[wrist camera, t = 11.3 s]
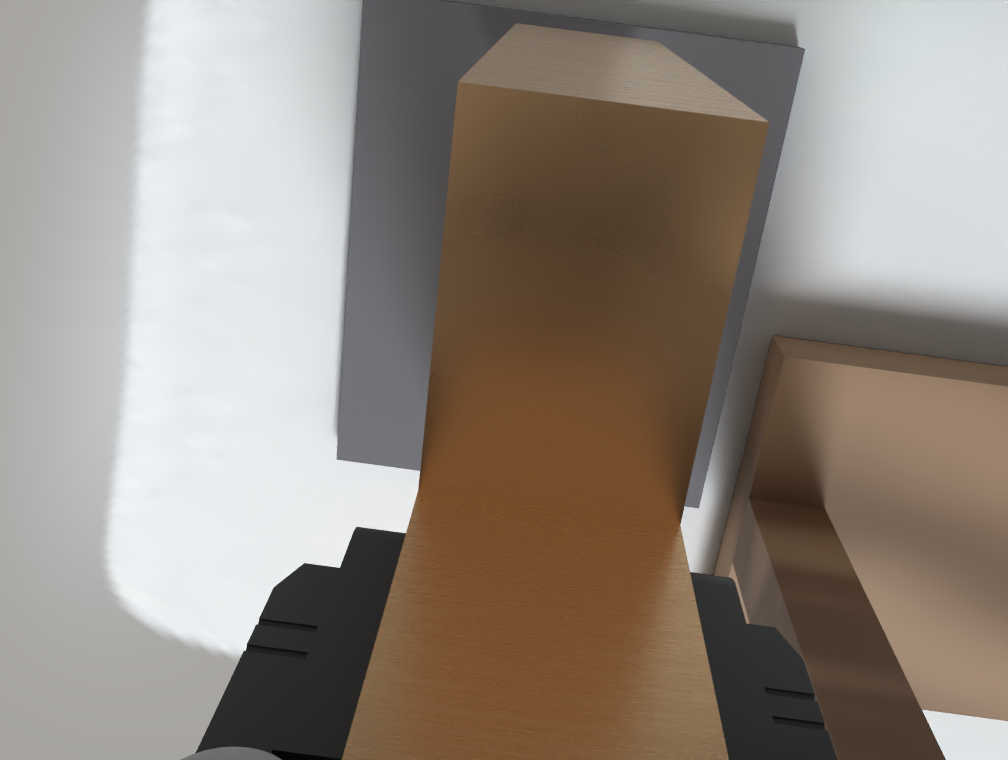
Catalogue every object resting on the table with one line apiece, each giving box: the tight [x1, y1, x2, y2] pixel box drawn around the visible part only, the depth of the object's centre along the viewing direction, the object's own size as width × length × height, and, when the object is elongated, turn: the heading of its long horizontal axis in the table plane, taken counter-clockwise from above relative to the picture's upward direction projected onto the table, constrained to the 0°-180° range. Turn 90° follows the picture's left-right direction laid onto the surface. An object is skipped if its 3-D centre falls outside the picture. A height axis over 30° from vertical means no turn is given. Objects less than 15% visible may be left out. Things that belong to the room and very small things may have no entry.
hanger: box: [342, 23, 770, 760], centre depth 15 cm, size 12×3×17 cm, turn 173°
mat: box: [337, 0, 805, 508], centre depth 24 cm, size 12×10×1 cm
